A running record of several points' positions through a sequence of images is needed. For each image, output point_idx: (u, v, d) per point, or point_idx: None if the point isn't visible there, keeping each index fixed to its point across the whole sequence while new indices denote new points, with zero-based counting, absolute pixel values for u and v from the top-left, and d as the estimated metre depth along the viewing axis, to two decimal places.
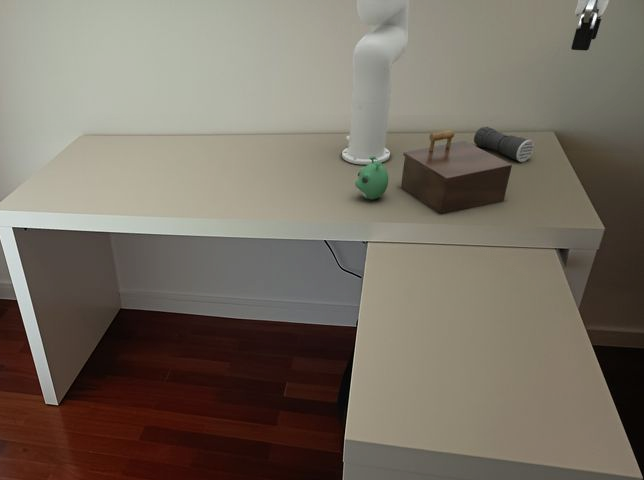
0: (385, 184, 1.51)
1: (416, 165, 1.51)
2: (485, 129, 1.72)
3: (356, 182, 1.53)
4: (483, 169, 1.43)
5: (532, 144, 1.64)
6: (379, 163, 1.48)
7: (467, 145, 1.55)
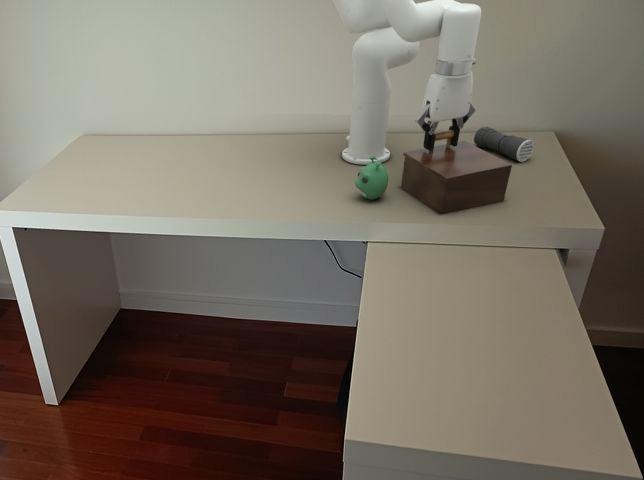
0: (385, 184, 1.51)
1: (416, 165, 1.51)
2: (485, 129, 1.72)
3: (356, 182, 1.53)
4: (483, 169, 1.43)
5: (532, 144, 1.64)
6: (379, 163, 1.48)
7: (467, 145, 1.55)
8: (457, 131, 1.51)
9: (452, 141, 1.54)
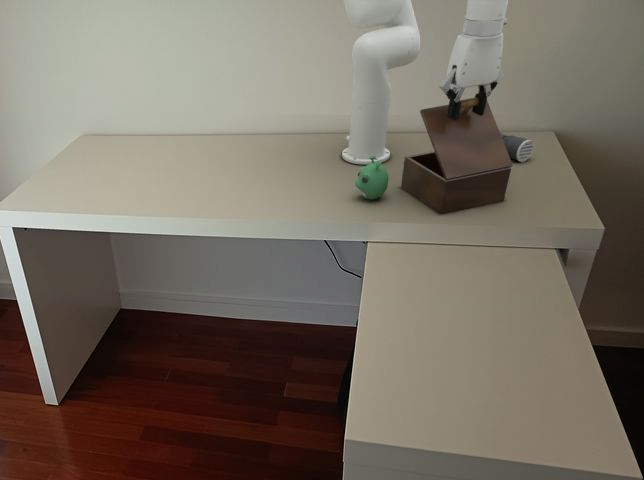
0: (385, 184, 1.51)
1: (416, 165, 1.51)
2: None
3: (356, 182, 1.53)
4: (484, 168, 1.43)
5: (532, 144, 1.64)
6: (379, 163, 1.48)
7: (486, 109, 1.47)
8: (484, 99, 1.40)
9: (478, 110, 1.43)
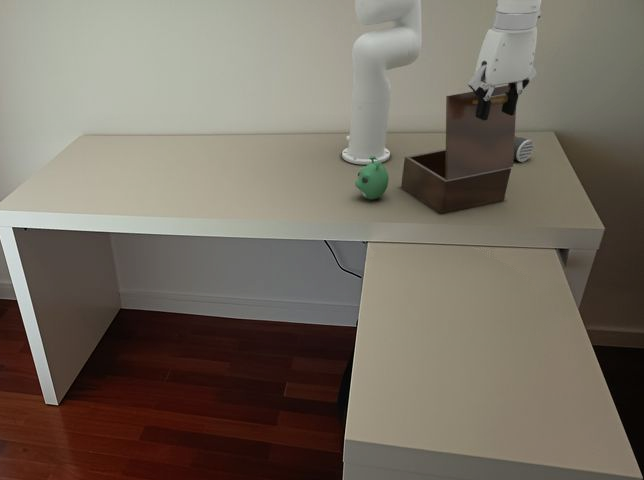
0: (385, 184, 1.51)
1: (416, 165, 1.51)
2: None
3: (356, 182, 1.53)
4: (486, 169, 1.43)
5: (532, 144, 1.64)
6: (379, 163, 1.48)
7: None
8: (515, 97, 1.32)
9: (509, 109, 1.34)
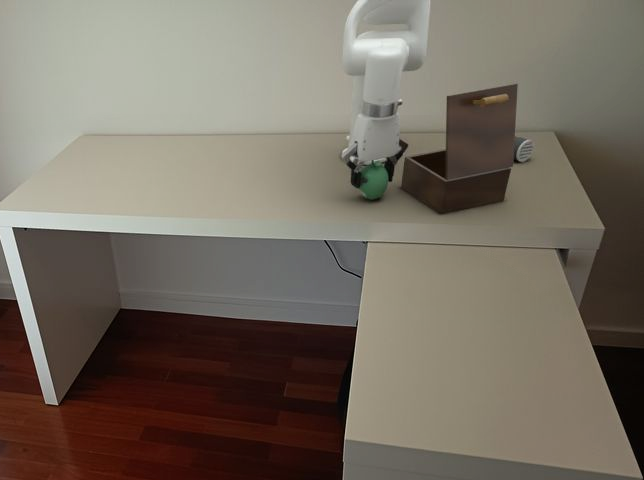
0: (385, 184, 1.51)
1: (416, 165, 1.51)
2: None
3: None
4: (486, 169, 1.43)
5: (532, 144, 1.64)
6: (379, 163, 1.48)
7: (512, 98, 1.38)
8: (391, 167, 1.51)
9: None
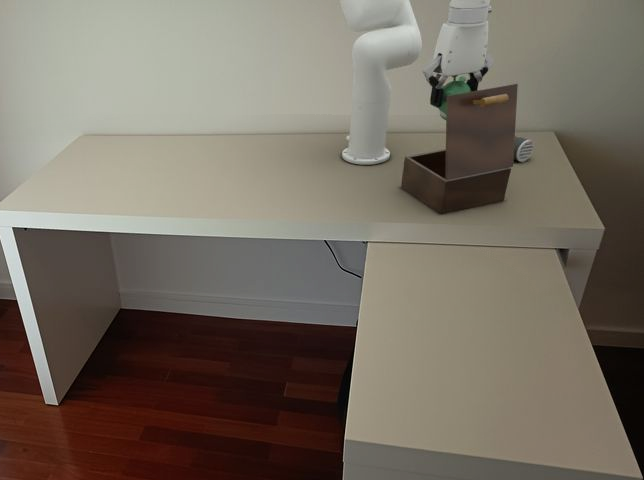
0: None
1: (416, 165, 1.51)
2: None
3: None
4: (486, 169, 1.43)
5: (532, 144, 1.64)
6: (464, 78, 1.37)
7: (512, 98, 1.38)
8: (475, 84, 1.40)
9: None
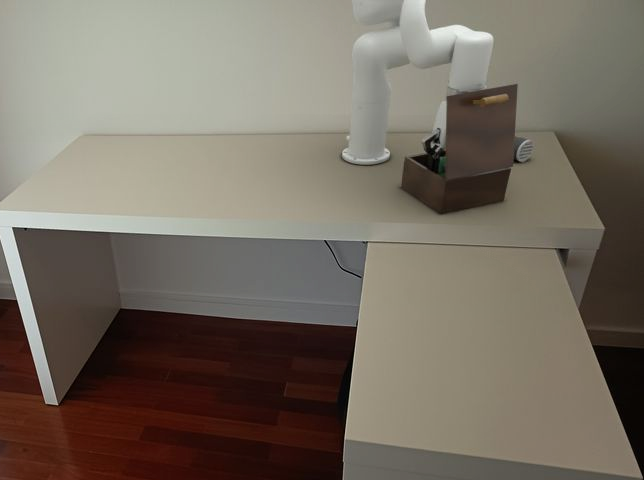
0: None
1: (416, 165, 1.51)
2: None
3: None
4: (486, 169, 1.43)
5: (532, 144, 1.64)
6: None
7: (512, 98, 1.38)
8: None
9: None
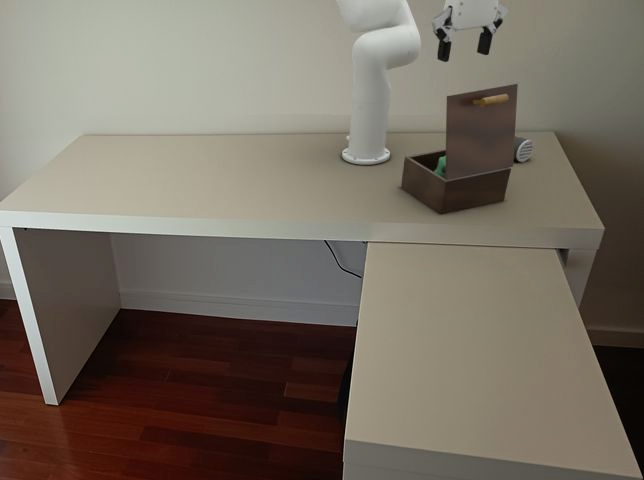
0: None
1: (416, 165, 1.51)
2: None
3: (435, 172, 1.53)
4: (486, 169, 1.43)
5: (532, 144, 1.64)
6: None
7: (512, 98, 1.38)
8: (489, 36, 1.36)
9: (483, 49, 1.38)
